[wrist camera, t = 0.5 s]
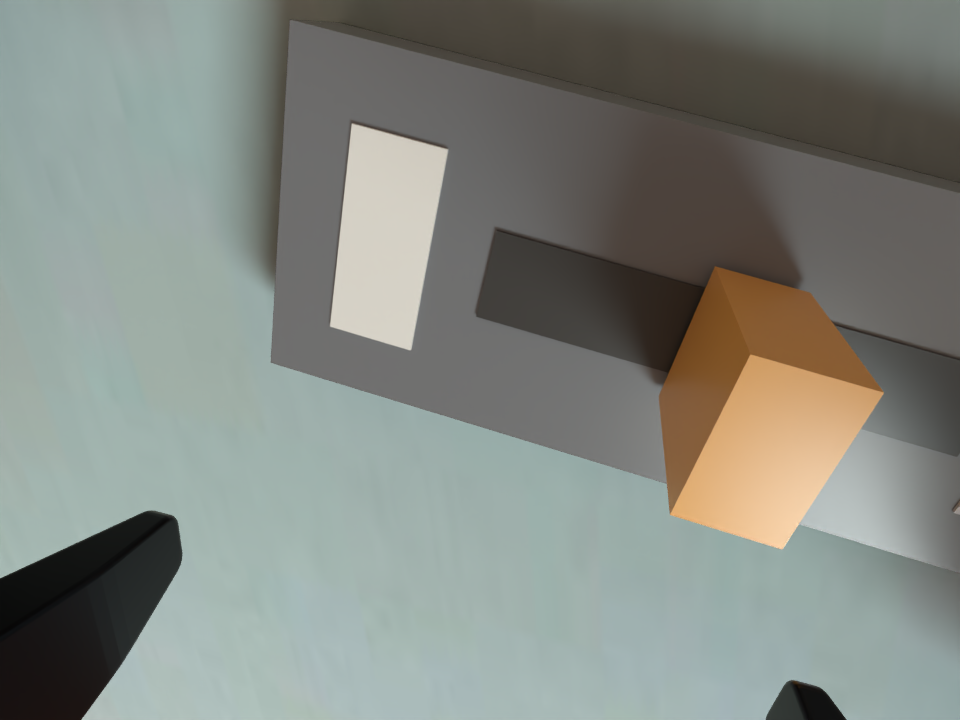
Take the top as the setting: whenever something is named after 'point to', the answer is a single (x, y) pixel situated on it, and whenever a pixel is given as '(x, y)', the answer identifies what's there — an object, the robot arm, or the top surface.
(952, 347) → the panel
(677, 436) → the handle
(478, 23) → the top surface
